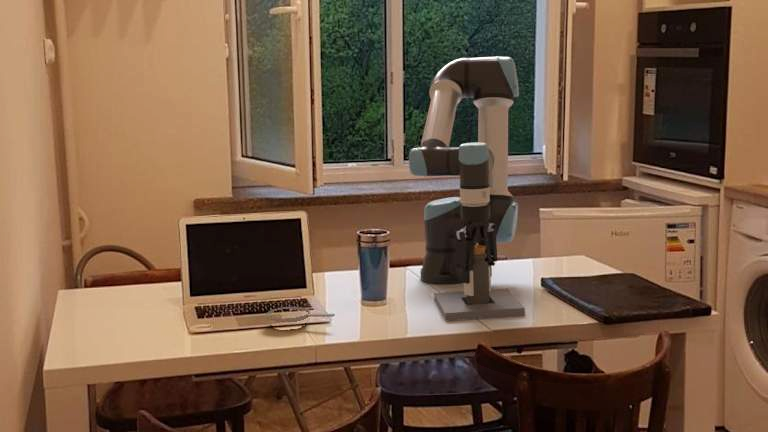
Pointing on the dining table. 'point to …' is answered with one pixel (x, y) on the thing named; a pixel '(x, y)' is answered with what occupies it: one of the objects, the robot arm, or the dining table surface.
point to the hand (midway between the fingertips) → (477, 292)
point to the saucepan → (297, 317)
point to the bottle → (479, 277)
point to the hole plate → (479, 305)
